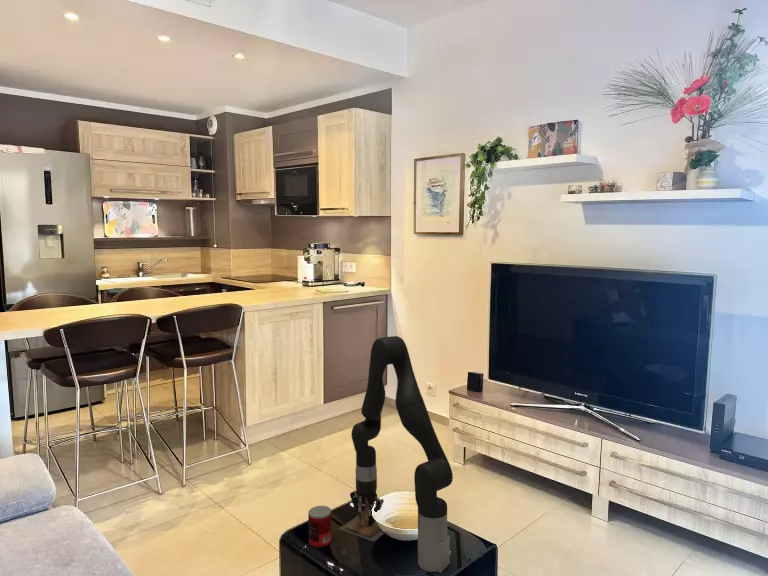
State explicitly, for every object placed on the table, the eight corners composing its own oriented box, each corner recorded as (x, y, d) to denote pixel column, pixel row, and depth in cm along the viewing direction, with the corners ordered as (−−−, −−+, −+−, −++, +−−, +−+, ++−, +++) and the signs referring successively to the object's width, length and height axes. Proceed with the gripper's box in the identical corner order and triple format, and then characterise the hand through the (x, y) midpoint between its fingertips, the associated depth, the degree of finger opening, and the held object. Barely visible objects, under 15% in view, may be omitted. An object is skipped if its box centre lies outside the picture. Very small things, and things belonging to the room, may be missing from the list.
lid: (388, 524, 192) (388, 508, 192) (370, 538, 183) (370, 521, 183) (363, 516, 198) (363, 500, 198) (345, 529, 189) (344, 513, 189)
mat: (394, 526, 192) (394, 525, 192) (373, 542, 181) (373, 541, 181) (360, 514, 200) (360, 513, 200) (339, 530, 190) (339, 528, 190)
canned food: (333, 536, 186) (333, 505, 185) (329, 549, 178) (328, 517, 177) (312, 535, 187) (311, 504, 186) (306, 548, 179) (305, 516, 178)
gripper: (388, 477, 189) (388, 524, 190) (356, 468, 196) (357, 513, 198) (376, 484, 182) (376, 533, 184) (344, 475, 190) (344, 522, 192)
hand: (366, 522), depth 191 cm, fingers closed on lid, 3 cm apart
